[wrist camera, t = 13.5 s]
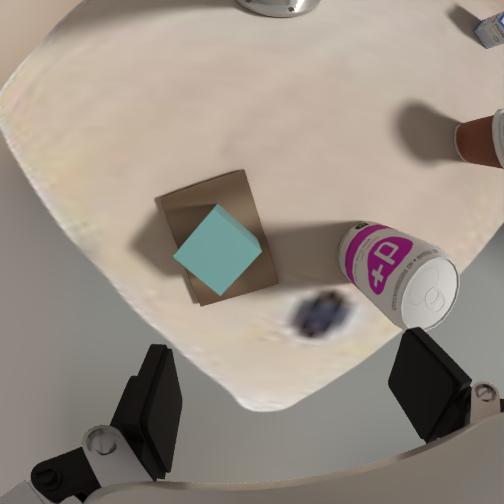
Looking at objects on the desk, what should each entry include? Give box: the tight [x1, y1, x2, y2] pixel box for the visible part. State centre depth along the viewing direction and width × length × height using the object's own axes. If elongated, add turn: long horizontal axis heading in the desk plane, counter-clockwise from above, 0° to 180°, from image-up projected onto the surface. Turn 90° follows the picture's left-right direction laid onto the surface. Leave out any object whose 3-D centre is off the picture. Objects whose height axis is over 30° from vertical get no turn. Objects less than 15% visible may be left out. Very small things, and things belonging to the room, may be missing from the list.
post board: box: [161, 170, 279, 306], centre depth 30 cm, size 14×10×6 cm
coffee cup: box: [453, 109, 504, 169], centre depth 25 cm, size 9×9×12 cm
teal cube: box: [173, 204, 262, 296], centre depth 29 cm, size 6×6×6 cm
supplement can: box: [338, 221, 460, 331], centre depth 27 cm, size 8×8×15 cm
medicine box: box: [474, 12, 504, 49], centre depth 21 cm, size 8×4×9 cm, turn 138°
